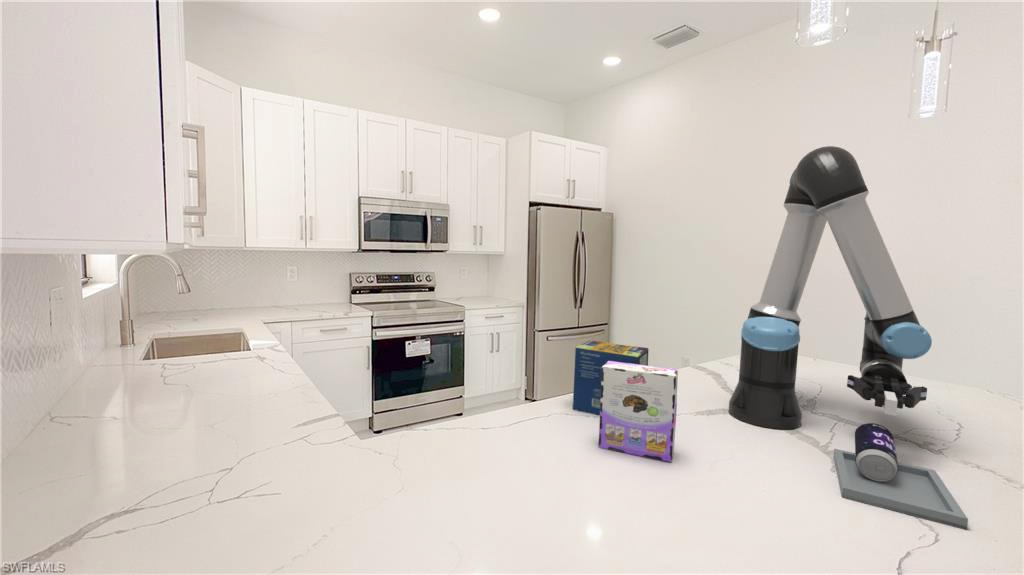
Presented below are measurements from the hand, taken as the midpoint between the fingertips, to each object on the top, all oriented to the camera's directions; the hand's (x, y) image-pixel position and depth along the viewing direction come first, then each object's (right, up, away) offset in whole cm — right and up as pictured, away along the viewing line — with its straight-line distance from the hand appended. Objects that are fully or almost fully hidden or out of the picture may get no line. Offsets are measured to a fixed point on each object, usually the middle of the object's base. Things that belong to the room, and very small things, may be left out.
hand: (891, 407), depth 79 cm
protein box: (-44, -9, +29) cm, 53 cm away
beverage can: (+1, -7, +5) cm, 8 cm away
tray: (-4, -12, -5) cm, 14 cm away
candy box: (-44, -10, +7) cm, 46 cm away
